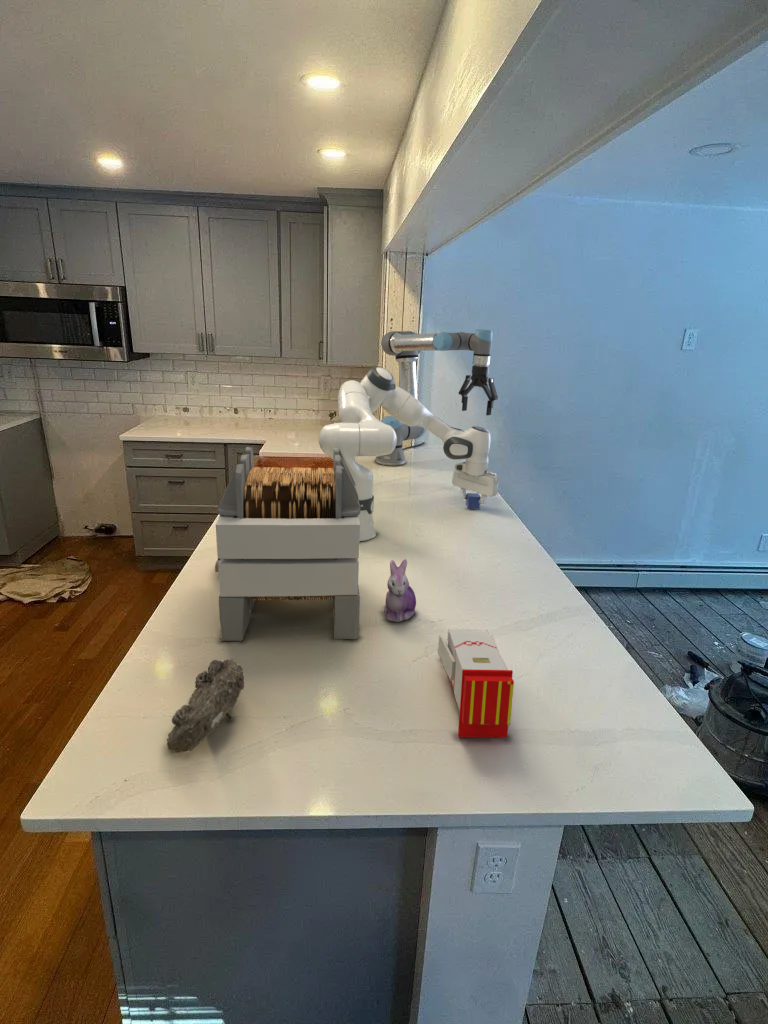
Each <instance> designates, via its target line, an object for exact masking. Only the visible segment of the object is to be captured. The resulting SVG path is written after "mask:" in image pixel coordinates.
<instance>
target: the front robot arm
mask: <svg viewBox="0 0 768 1024" xmlns="http://www.w3.org/2000/svg"><path fill="white" fill-rule="evenodd" d="M410 395H411V394H410V393H408V392H407V391H405V390H404V389H402V388H400V386H399V385H396V383H395V379H394V376H393V374H392V373H391V372H390V371H389V370H388V369H386V368H385V367H383V366H379V365H376V366H373V367H371V368H370V369H368V371H367V372H366V375H365V376H364V377H363V378H362V379H361V381H360V382H359V381H357V380H353V379H350V380H346V381H345V382H343V383H342V384H341V385H340V387H339V390H338V394H337V409H338V419H339V422H334V423H330V424H329V423H328V424H325V425H323V427H321V429H320V432H319V434H318V445H319V447H320V449H321V451H322V452H323V453H324V454H325V455H326V456H328V457H329V458H330V459H331V460H332V461H333V460H334V448H339V449H340V451H341V453H342V456H343V458H344V460H345V462H346V464H347V467H348V469H349V471H350V473H351V475H352V478H353V480H354V482H355V484H356V489H357V494H358V499H359V504H360V514H359V515H358V517H359V522H360V539H359V542H365V541H368V540H372V539H373V538H375V537H376V535H377V532H376V528H375V523H374V513H373V512H374V509H375V496H374V474H373V472H372V471H371V469H369V468H368V467H366V466H364V465H362V464H360V463H359V462H357V461H356V459H357V457H376V456H383V455H388V454H391V453H392V452H393V451H394V449H395V447H396V444H397V436H396V433H395V431H394V429H393V428H392V427H391V426H389V425H387V424H385V423H383V422H381V420H380V419H378V418H377V417H376V416H375V415H374V413H375V412H376V411H377V410H378V409H379V408H380V407H381V408H382V409H383V410H384V411H386V412H387V413H388V414H389V416H393V417H395V416H396V417H395V419H396V420H398V421H399V422H401V423H403V424H405V425H407V426H410V427H413V426H418V427H423V428H425V429H426V431H428V432H429V433H431V434H432V435H434V436H436V437H437V438H438V439H440V440H441V441H442V442H443V443H442V444H443V446H442V447H443V448H442V449H443V453H444V455H445V456H446V457H447V458H448V459H451V460H455V461H456V460H465V461H461V462H459V463H455V464H454V470H453V473H452V478H451V483H452V486H453V487H456V488H459V489H460V493H461V495H462V497H461V498H462V499H463V500H465V501H466V499H467V491H471V492H472V493H473V492H474V493H478V494H479V495H480V494H481V497H482V498H481V499H480V500H479V504H480V506H481V505H482V506H483V505H484V504H485V500H486V499H487V498H488V497H490V498H492V497H493V498H494V497H496V496H497V495H498V494H499V476H498V474H497V473H496V472H491V471H489V469H488V468H489V463H490V462H489V461H490V460H489V454H490V452H491V444H492V443H491V441H492V439H491V437H492V436H491V433H490V431H489V430H488V429H487V428H484V427H481V426H476V425H475V426H474V425H473V426H471V427H470V428H467V429H466V430H463V429H461V428H459V427H458V428H457V427H453V426H451V425H449V424H447V423H446V422H445V421H443V420H442V419H440V418H439V417H437V416H436V415H434V414H433V413H432V412H431V411H429V409H428V408H427V407H426V406H424V405H423V403H422V402H421V401H419V399H418V400H417V399H416V398H415V397H414V396H412V395H411V396H410ZM408 398H409V399H408ZM407 399H408V400H407ZM405 402H406V403H405ZM403 405H404V406H403ZM402 406H403V407H402Z"/></svg>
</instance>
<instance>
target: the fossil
mask: <svg viewBox="0 0 768 1024" xmlns="http://www.w3.org/2000/svg"><path fill="white" fill-rule="evenodd" d="M243 670H244V669H243V667H242V665H240V664H237V662H236V661H235V660H234V659H232V658H231V659H227V658H226V659H224V660H223V661H222V660H217V659H212V660H211V661H210V663H209V665H208V666H207V671H201V672H199V673H198V674H197V675H196V676H195V680H194V684H195V685H194V687H195V689H194V690H193V693H192V694H191V697H190V698H189V700H188V704H184V705H182V706H181V707H180V709H177V710H176V711H175V713H174V715H173V716H172V718H171V723H172V724H173V727H172V730H171V731H170V732H168V734H167V738H166V741H167V742H166V745H167V749H168V750H169V751H173V752H174V753H176V754H178V753H182V752H188V751H189V752H192V751H193V750H195V748H196V747H197V746H199V744H200V743H201V742H203V741H204V740H205V739H206V738H207V737H208V736H209V735H210V734H211V733H212V732H214V730H215V729H217V727H218V726H219V724H220V722H221V721H222V720H223V719H224V718H225V716H226V717H227V719H229V720H233V717H232V715H230V714H229V710H230V709H231V708H234V706H235V704H236V703H237V702H238V699H239V697H240V695H241V693H242V691H243V690H245V689H244V688H245V675H244V671H243Z"/></svg>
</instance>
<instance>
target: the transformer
mask: <svg viewBox="0 0 768 1024" xmlns="http://www.w3.org/2000/svg"><path fill="white" fill-rule="evenodd" d="M332 463H333V464H332V465H333V467H327V468H325V467H317V468H312V467H291V468H285V466H283V467H282V466H281V467H279V466H278V467H277V466H276V467H275V466H271V467H266V466H263V467H260V466H255V461H254V447H253V446H252V447H251V446H245V447H244V450H243V453H241V456H240V459H239V461H238V463H237V464H236V466H235V468H234V470H233V473H232V474H231V477H230V479H229V482H228V483H227V486H226V488H225V490H224V493H223V495H222V497H221V499H220V501H219V504H218V507H217V512H218V513H217V514H218V515H219V517H218V519H217V520H216V523H215V536H216V537H215V539H216V552H217V553H216V554H217V560H218V559H220V561H219V563H218V571H219V572H218V586H219V587H218V588H219V595H218V613H219V614H218V615H219V624H220V635H221V636H220V637H221V638H219V639H220V641H221V642H227V641H234V642H235V641H236V642H237V641H243V639H244V636H245V635H246V632H247V630H248V626H249V625H250V622H251V611H253V609H254V604H255V601H293V600H294V601H309V600H310V601H313V600H314V601H317V600H320V601H321V600H332V609H333V634H334V635H333V636H334V638H333V639H335V640H356V639H358V638H359V637H360V604H361V603H360V601H361V595H360V588H359V587H360V586H359V571H360V570H359V569H360V562H359V557H360V541H359V539H360V522H359V517H358V515H359V514H360V504H359V499H358V494H357V489H356V484H355V482H354V480H353V478H352V475H351V473H350V471H349V469H348V467H347V464H346V462H345V460H344V458H343V456H342V453H341V451H340V449H339V448H334V460H332Z"/></svg>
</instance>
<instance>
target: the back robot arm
mask: <svg viewBox="0 0 768 1024" xmlns="http://www.w3.org/2000/svg"><path fill="white" fill-rule="evenodd" d="M492 343H493V331H492V330H491V329H482V328H477V329H476V330H475V331H474V333H473V332H464V331H460V332H435V333H434V332H432V333H430V332H429V333H417V332H415V331H411V330H399V331H398V330H397V331H396V330H393V331H392V330H391V331H389V332H387V333H385V334H384V335H383V336H382V338H381V341H380V346H381V349H382V351H383V352H384V353H385V354H386V355H388V356H394V357H395V361H396V362H397V363H398V370H399V371H398V373H399V387H400V388H402V389H404V390H405V391H407V392H408V393H410V394H411V395H412V396H414V397H415V398H416V399H417V400H418V401H419V398H418V381H417V378H418V377H417V363H416V362H417V361H418V359H419V354H421V352H431V351H440V352H445V351H471V352H473V355H472V366H471V374H466V375H465V378H464V381H463V383H462V385H461V387H460V389H459V391H458V395H460V396H461V404H462V407H461V411H462V412H465V411H467V410H468V402H469V401H468V400H469V399H468V398H469V396H468V394H469V393H471V391H472V390H473V389H474V388H475V387H479V388H482V389H483V392H484V393H485V395H486V397H487V398H488V400H487V403H486V412H485V413H486V414H485V416H491V415H492V409H493V408H494V403H495V401H497V400H499V396H498V392H497V389H496V387H495V386H496V385H495V379H494V377H488V376H489V372H490V367H489V366H490V363H491V352H492V351H491V350H492ZM411 395H410V396H411ZM408 399H409V398H408ZM408 399H407V400H408ZM405 403H406V402H405ZM403 406H404V405H403ZM403 406H402V407H403ZM395 417H396V416H395ZM395 417H393V416H391V415H387V416H384V417H382V418H381V420H380V421H381V422H383V423H385V424H387V425H389V426H391V427H392V428H393V429H394V431H395V433H396V436H397V444H396V447H395V449H394V451H393V452H392V453H391V454H388V455H383V456H375V463H376V464H378V465H381V466H387V467H388V466H389V467H397V466H403V465H405V464H406V457H405V453H404V450H407V449H411V448H415V447H420V446H422V445H424V444H425V443H426V441H423V442H422V443H419V444H415V445H411V446H406V447H404V448H403V445H404V443H403V442H405V441H410V440H417V439H420V438H422V437H423V436H424V435H425V434H426V431H427V429H425V428H423V427H418V426H413V427H410V426H407V425H405V424H403V423H401V422H399V421H398V420H396V419H395Z"/></svg>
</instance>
